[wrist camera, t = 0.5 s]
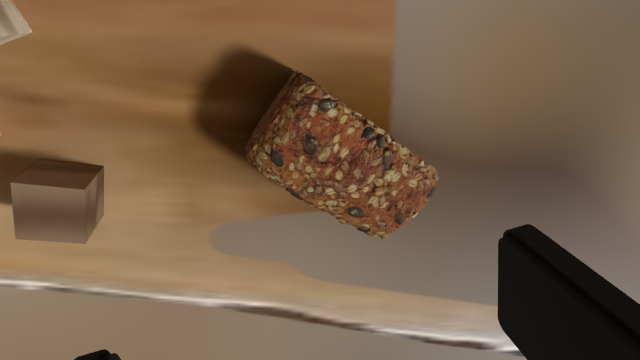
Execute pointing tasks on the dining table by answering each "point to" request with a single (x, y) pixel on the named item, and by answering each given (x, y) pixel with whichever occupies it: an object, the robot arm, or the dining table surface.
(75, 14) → the dining table surface
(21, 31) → the beech block
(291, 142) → the bread
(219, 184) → the dining table surface
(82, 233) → the walnut block
